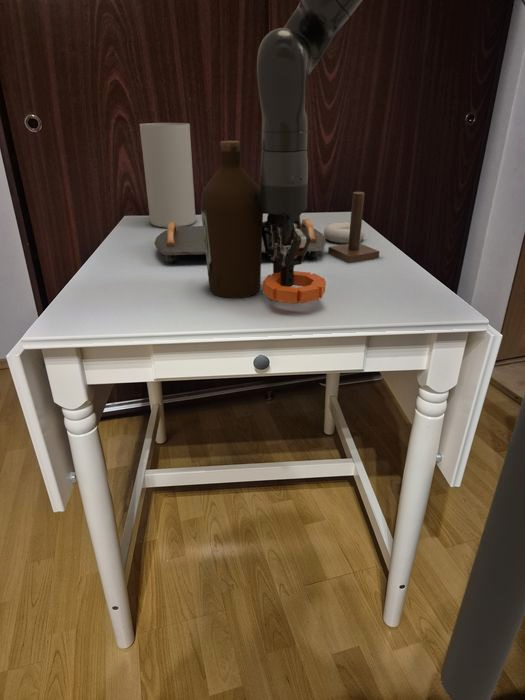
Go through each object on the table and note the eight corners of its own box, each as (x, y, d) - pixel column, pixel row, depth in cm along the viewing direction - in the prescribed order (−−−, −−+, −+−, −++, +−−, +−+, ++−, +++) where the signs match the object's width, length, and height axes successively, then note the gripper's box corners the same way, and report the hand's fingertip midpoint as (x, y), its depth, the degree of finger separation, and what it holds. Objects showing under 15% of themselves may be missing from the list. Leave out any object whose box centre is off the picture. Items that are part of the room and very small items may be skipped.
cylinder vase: (153, 218, 140) (143, 122, 128) (197, 217, 140) (191, 122, 129) (147, 228, 129) (135, 125, 117) (194, 228, 129) (187, 125, 118)
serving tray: (151, 267, 100) (147, 237, 97) (160, 238, 120) (158, 212, 117) (334, 261, 103) (336, 232, 100) (313, 234, 124) (315, 209, 121)
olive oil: (265, 279, 93) (264, 138, 81) (261, 300, 84) (260, 144, 72) (210, 278, 94) (202, 138, 82) (201, 299, 84) (190, 144, 73)
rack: (378, 257, 106) (386, 194, 99) (349, 263, 103) (354, 197, 96) (356, 248, 112) (362, 188, 106) (327, 253, 109) (331, 191, 102)
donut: (372, 241, 118) (343, 232, 125) (374, 227, 117) (344, 218, 124) (343, 248, 113) (314, 238, 120) (344, 233, 111) (315, 224, 118)
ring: (335, 296, 79) (336, 284, 78) (282, 307, 75) (283, 295, 74) (303, 278, 87) (304, 267, 86) (254, 287, 83) (254, 276, 82)
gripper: (328, 184, 73) (322, 293, 81) (283, 173, 83) (282, 270, 91) (285, 188, 70) (283, 301, 78) (244, 177, 80) (246, 276, 88)
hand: (283, 283), depth 84 cm, fingers closed on ring, 2 cm apart
